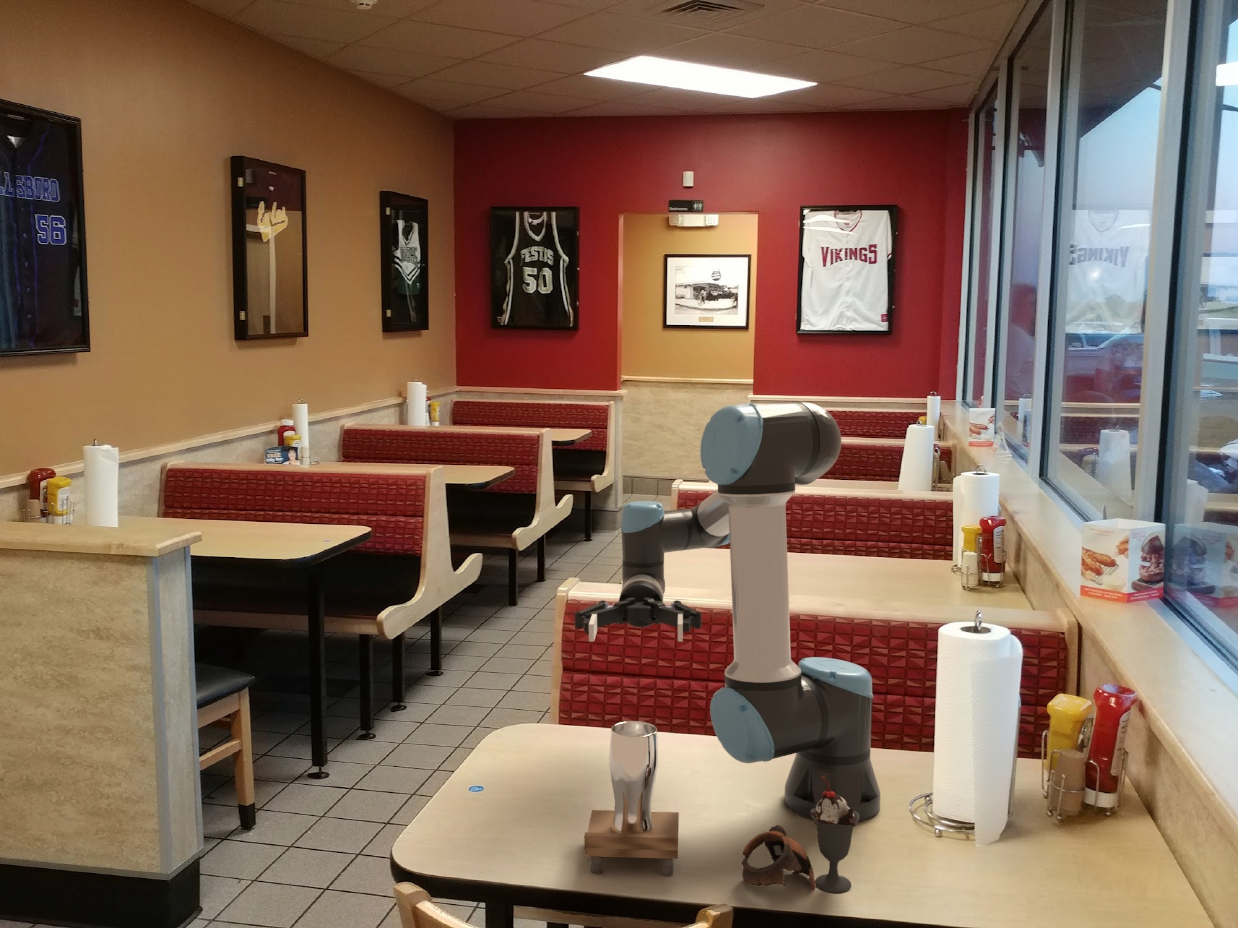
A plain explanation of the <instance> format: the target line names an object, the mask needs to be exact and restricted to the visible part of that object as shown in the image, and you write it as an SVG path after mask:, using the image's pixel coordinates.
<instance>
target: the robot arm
mask: <svg viewBox="0 0 1238 928" xmlns="http://www.w3.org/2000/svg"><path fill="white" fill-rule="evenodd" d="M840 430H841V429H840V428H839V425H838V424H837V421H836V420H835V418H834V417H833V416H832V415H831V414H830V412H829V411H827V410H826V409H824V408H823V407H821V406H820V405H818V404H815V403H812V402H809V401H787V402H784V401H783V402H766V403H763V402H762V403H760V402H759V403H748V402H745V403H741V404H734V405H729V406H725V407H721V408H720V409H718V410H717V411H715V413H713V414H712V415H711V417H710V419H709V421H708V422H707V423H706V425H705V428H704V429H703V432H702V437H701V440H700V447H699V448H700V454H699V455H700V462H701V466H702V468H703V469H704V474H705V475H706V477H707V478H708V479H709V481H711V482H712V483H714V484H716V485H717V490H715V491H714V492H713V493H711V494H710V495H709V496H708V497H707V498H705V499H704V500H703V501H701V502H700V503H699V504H697V505H696V506H694V507H691V508H683V509H672V510H664V505H663V504H662V503H661V502H658V501H653V500H644V501H642V500H641V501H639V500H638V501H631V502H628V503H625V505H624V506H623V507H622V511H621V524H620V530H621V545H622V546H621V549H622V563H621V565H622V566H621V571H622V572H621V574H622V577H621V580H622V586H621V587H622V589H621V591H620V593H619V594H620V595H619V599H618V602H615V603H614V604H613V605H609V603H608V602H607V600H599V601H598V602H597V603H595V604H593V605H591V606H588V607H586V608H584V609H583V608H582V609H581V610H579V611H576V612H574V628H575V629H577V630H580V629H582V628H583V632H585V634H586V635H588V642H595V639H596V636H597V632H598V628H599V629H600V628H602V627H606V626H609V625H613V624H616V625H617V624H618V625H623V624H628V625H630V626H631V627H635V628H647V627H650V626H652V625H653V624H654V625H661V624H664V625H667V626H671V627H674V628H676V629H677V642H681V643H683V642H684V640H683V639H684V633H689V632H691V628H693V629H696V630H700V629H702V612H700V611H699V610H697V609H694V608H692V607H689V606H687V605H685V604H684V603H682V602H681V600H674V601H673V602H671V604H670V605H666V603H664V594H665V592H666V581H665V567H664V566H665V565H664V564H665V554H666V553H671V552H682V551H690V550H698V549H699V550H700V549H707V548H708V549H712V548H718V547H720V546H725V545H728V544H729V550H730V551H729V554H730V555H729V557H730V577H731V578H730V579H731V582H730V583H731V604H732V605H731V606H732V607H731V608H732V609H731V610H732V635H733V636H732V637H733V661H732V662H731V663H730V664H729V665H728V666H727V667H726V668H725V670H724V686H723V687H720V689H718V690H716V691H715V692H714V694H713V697H712V698H711V699H710V705H709V709H710V710H709V713H710V718H711V719H710V720H711V724H712V727H713V730H714V732H715V736H716V738H717V740H718V742H720V744H721V746H722V748H723V749H724V751H725V752H726V753H727V754H728V755H729V756H730V757H731V758H733V759H734V760H736V761H738V762H739V763H744V764H753V763H759V762H764V763H765V762H770V761H772V760H775V759H778V758H783V757H786V756H790V755H795V756H794V759H793V762H792V765H791V767H790V769H789V773H788V775H787V777H786V781H785V783H784V802H785V805H786V807H788V808H789V809H790V810H791V811H793V812H795V813H796V814H798V815H799V816H802V817H805V818H807V819H812V820H813V818H812V817H811V816H810V811H811V810H812V809H814V808H816V806H817V804H818V801H820V800H821V799H823V792H825V791H827V784H826V782H824V781H823V780H822V779H821V776H822V777H825V780H826V781H827V782H828V784H829V786H830V789H831V791H833V792H834V793H835V794H836V795H839V796H841V797H842V798H843V799H844V800H845V801H846V803H848V804H847V806H848V807H849V808H854V810H853V811H856V812H857V813H859V816H860V818H859V820H858V822H861V821H865V820H868V819H870V818H873V817H874V816H876V815H877V814H878V813H879V811H880V808H881V791H880V787H879V783H878V781H877V777H876V774H875V771H874V767H873V762H872V761H871V747H872V746H871V743H872V720H873V718H872V717H873V698H874V694H873V680H872V679H873V678H872V675H871V673H870V672H869V670H867V669H866V668H864V667H862V666H861V665H858V664H856V663H853V662H850V661H846V660H842V659H836V658H830V657H823V656H822V657H820V656H814V657H813V656H811V657H805V658H801V659H800V660H799V662H798V665H797V664H796V663H795V662H794V661H793V660H792V656H791V627H790V600H789V599H790V597H789V594H790V593H789V570H788V569H789V568H788V544H787V543H788V540H787V539H788V537H787V514H786V513H787V511H786V510H787V508H786V506H787V502H788V501H789V499H790V498H792V496H793V495H794V494H795V493H796V487H797V486H806V485H810V484H812V483H813V482H815V481H816V480H818V479H819V478H821V477H822V476H823V475H825V474H826V473H828V471H830V469H831V468H832V467H834V465H835V463H836V462H837V460H838V458H839V455H840V453H841V449H842V434H841V431H840ZM829 786H828V788H829ZM828 791H830V790H829V789H828Z"/></svg>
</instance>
